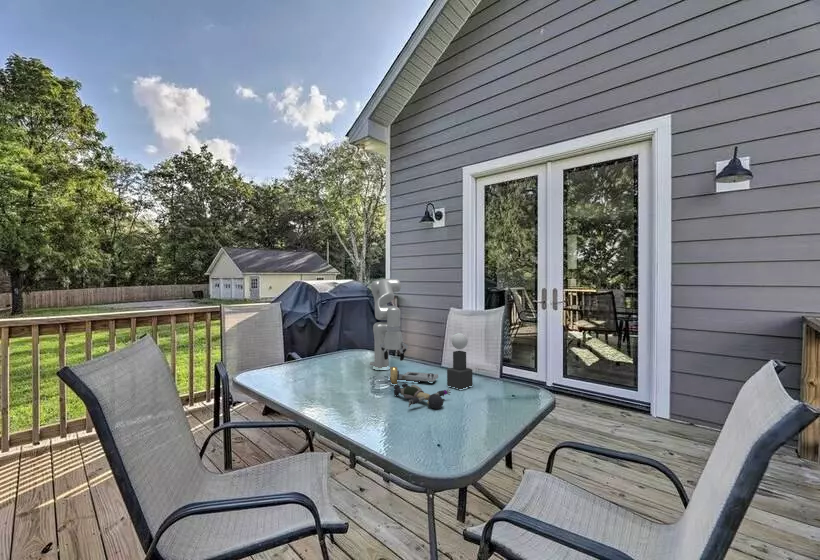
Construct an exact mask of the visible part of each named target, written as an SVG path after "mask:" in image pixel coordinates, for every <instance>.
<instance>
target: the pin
mask: <svg viewBox="0 0 820 560" xmlns="http://www.w3.org/2000/svg"><path fill="white" fill-rule="evenodd" d="M397 370H398V367H397V366H390V370H389V371H390V374H389V375H390V376H389V377H390V380H391V383H392V384H397V385H398V382H397Z"/></svg>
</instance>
